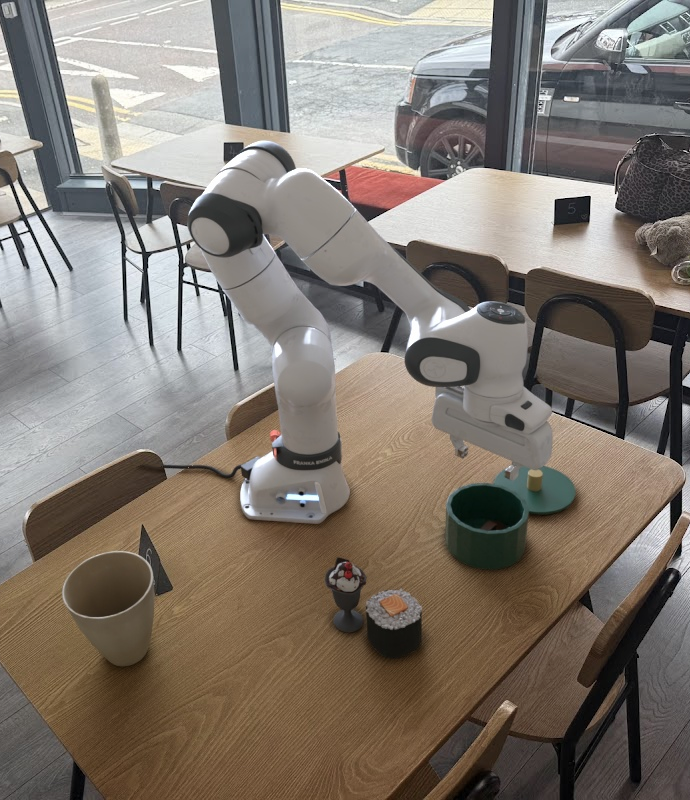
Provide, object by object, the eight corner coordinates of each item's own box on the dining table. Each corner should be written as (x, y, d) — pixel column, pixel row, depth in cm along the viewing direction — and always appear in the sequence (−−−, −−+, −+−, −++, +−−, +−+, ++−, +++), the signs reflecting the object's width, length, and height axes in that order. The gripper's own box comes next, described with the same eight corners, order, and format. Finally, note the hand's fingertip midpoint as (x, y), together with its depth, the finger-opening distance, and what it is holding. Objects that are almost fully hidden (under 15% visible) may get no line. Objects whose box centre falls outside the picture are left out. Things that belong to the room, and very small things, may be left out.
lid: (504, 519, 148) (505, 500, 145) (485, 471, 160) (486, 452, 157) (585, 514, 146) (589, 494, 143) (561, 466, 158) (563, 447, 155)
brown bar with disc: (480, 557, 140) (481, 545, 138) (463, 548, 142) (464, 536, 141) (508, 530, 144) (510, 517, 143) (492, 522, 147) (493, 510, 145)
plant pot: (178, 618, 139) (163, 552, 130) (156, 689, 127) (137, 622, 118) (100, 612, 143) (80, 548, 134) (71, 680, 131) (47, 614, 122)
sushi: (358, 631, 131) (356, 597, 127) (401, 612, 133) (401, 578, 129) (386, 666, 124) (385, 632, 120) (430, 645, 126) (431, 611, 122)
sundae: (359, 642, 129) (356, 576, 121) (322, 628, 132) (316, 564, 124) (374, 613, 133) (372, 548, 125) (337, 601, 137) (333, 537, 129)
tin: (453, 571, 139) (455, 535, 134) (439, 519, 150) (440, 485, 146) (534, 567, 137) (538, 531, 132) (513, 515, 148) (516, 480, 144)
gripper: (425, 385, 132) (422, 451, 139) (540, 430, 118) (531, 500, 125) (447, 370, 135) (443, 435, 142) (562, 411, 121) (551, 481, 128)
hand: (485, 466), depth 134 cm, fingers open, 8 cm apart
